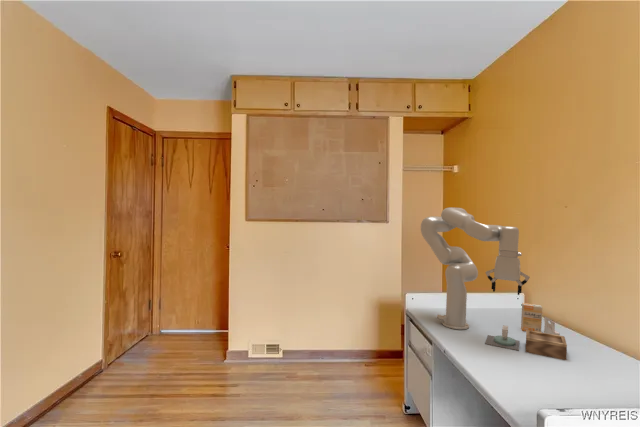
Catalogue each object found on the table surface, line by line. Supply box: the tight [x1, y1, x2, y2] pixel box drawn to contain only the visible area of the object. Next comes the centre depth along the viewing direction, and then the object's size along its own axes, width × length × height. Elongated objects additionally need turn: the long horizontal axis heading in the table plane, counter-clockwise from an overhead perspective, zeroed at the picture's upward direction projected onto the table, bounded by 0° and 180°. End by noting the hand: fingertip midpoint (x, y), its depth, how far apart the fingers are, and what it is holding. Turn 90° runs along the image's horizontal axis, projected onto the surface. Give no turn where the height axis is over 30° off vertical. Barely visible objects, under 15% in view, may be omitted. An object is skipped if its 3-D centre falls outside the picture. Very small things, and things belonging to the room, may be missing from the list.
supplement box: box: [520, 302, 543, 332], centre depth 177 cm, size 8×5×13 cm, turn 68°
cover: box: [494, 325, 516, 346], centre depth 158 cm, size 8×8×7 cm
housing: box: [525, 330, 568, 361], centre depth 150 cm, size 14×12×6 cm
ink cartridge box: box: [543, 315, 561, 336], centre depth 164 cm, size 2×11×10 cm, turn 168°
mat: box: [484, 334, 520, 352], centre depth 158 cm, size 13×13×1 cm
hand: (506, 292), depth 158 cm, fingers open, 9 cm apart
